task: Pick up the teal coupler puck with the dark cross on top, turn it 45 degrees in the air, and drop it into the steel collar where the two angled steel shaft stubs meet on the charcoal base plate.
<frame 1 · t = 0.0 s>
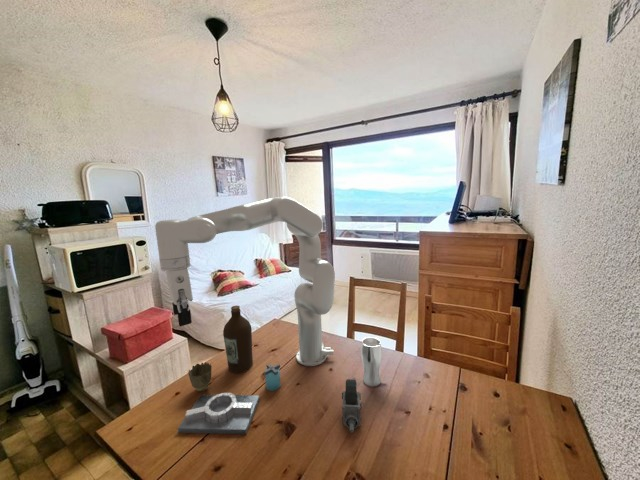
hand: (182, 318, 78), 31 cm above the table, tool pointing down, fingers open, 9 cm apart
cup: (202, 389, 92), on the table
olive oil: (240, 366, 105), on the table
beer glass: (371, 381, 93), on the table
coupling base: (221, 414, 81), on the table
coupler: (273, 385, 93), on the table
caster wheel: (351, 418, 78), on the table
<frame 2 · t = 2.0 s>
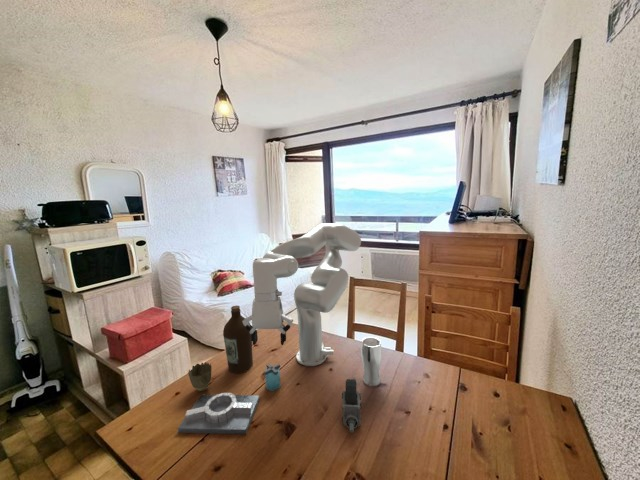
hand: (269, 342, 90), 17 cm above the table, tool pointing down, fingers open, 9 cm apart
nothing on the table moved.
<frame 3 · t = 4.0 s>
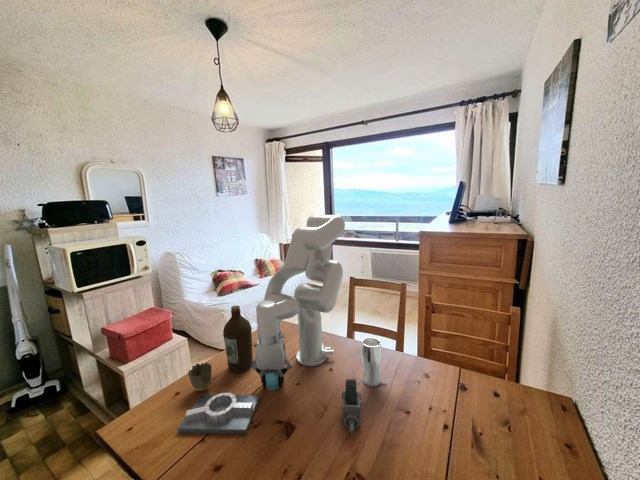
hand: (273, 384, 93), 1 cm above the table, tool pointing down, fingers closed on coupler, 5 cm apart
coupler: (273, 385, 93), on the table, touching gripper
everything else where it was.
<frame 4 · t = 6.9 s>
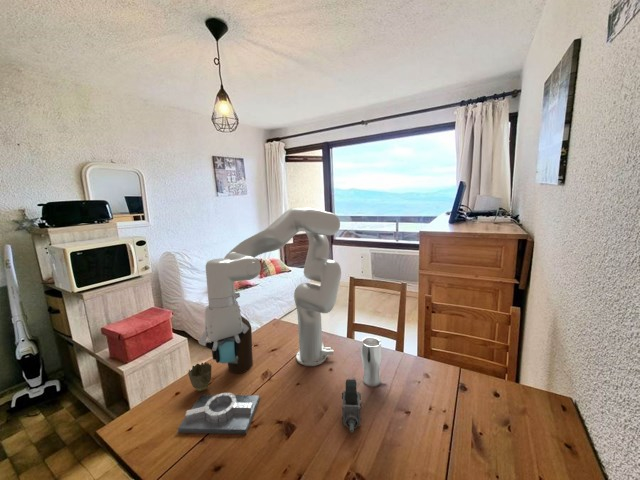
hand: (226, 356, 80), 18 cm above the table, tool pointing down, fingers closed on coupler, 5 cm apart
coupler: (226, 358, 80), point 18 cm above the table, touching gripper
everything else where it was.
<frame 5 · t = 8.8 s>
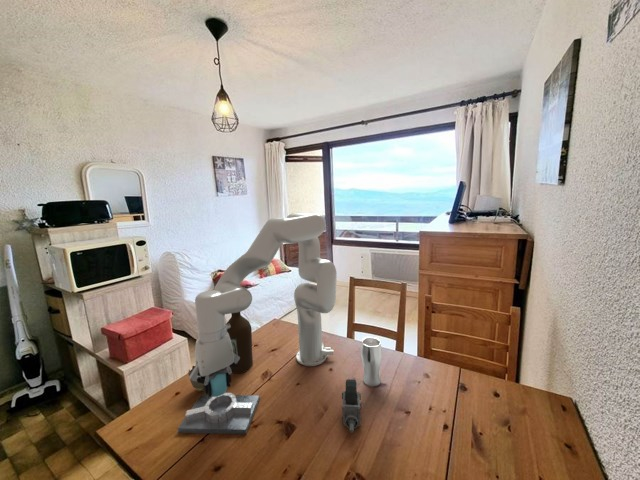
hand: (218, 388, 79), 9 cm above the table, tool pointing down, fingers closed on coupler, 5 cm apart
coupler: (218, 390, 79), point 9 cm above the table, touching gripper
everything else where it was.
when the fingers open (4 cm above the table, at t = 10.1 s): coupler drops 2 cm, resting on coupling base.
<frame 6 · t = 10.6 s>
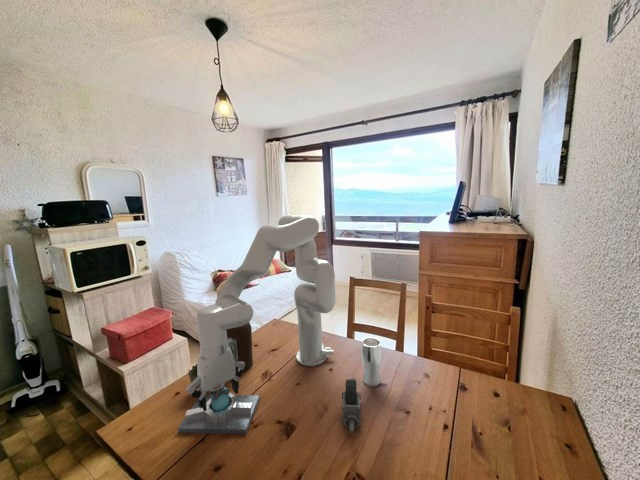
hand: (220, 399, 80), 5 cm above the table, tool pointing down, fingers open, 9 cm apart
coupler: (221, 410, 81), point 2 cm above the table, touching coupling base
everything else where it was.
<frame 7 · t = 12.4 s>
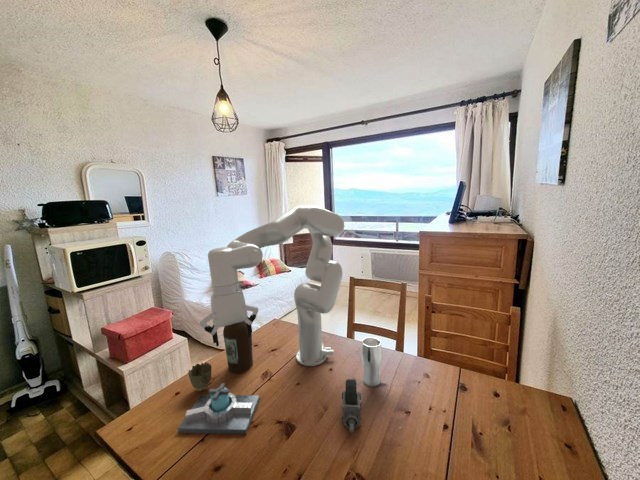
hand: (233, 339, 82), 22 cm above the table, tool pointing down, fingers open, 9 cm apart
nothing on the table moved.
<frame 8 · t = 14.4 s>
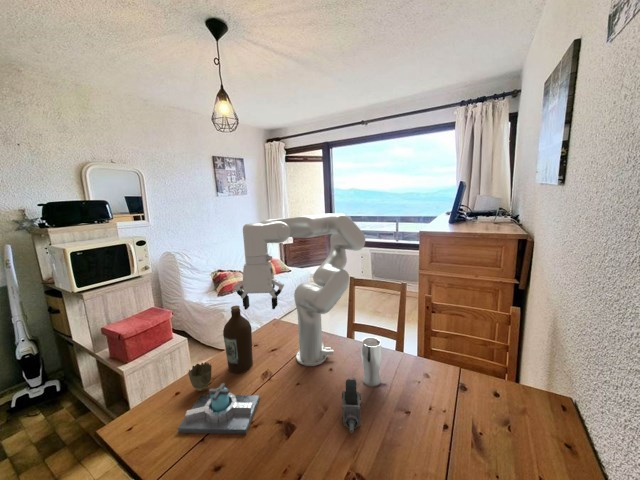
hand: (260, 307, 91), 28 cm above the table, tool pointing down, fingers open, 9 cm apart
nothing on the table moved.
at the end: coupler 0.1 cm off-centre on the coupling base, point 1.5 cm above the coupling base's base; coupler tilted 1°; the gripper is holding nothing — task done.
